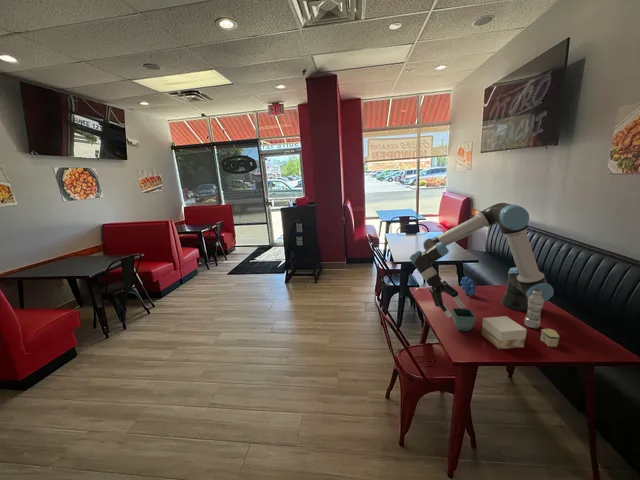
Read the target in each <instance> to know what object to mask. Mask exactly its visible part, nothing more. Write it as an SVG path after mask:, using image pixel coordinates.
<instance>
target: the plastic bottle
mask: <svg viewBox="0 0 640 480" xmlns="http://www.w3.org/2000/svg"><path fill="white" fill-rule="evenodd" d="M541 295H542V291H541V290H539V289H533V291H532V295H530V296H529V297H528V310H527V311H526V315H525V317H524V319H523V320H524V325H525V326H526V327H528V328H530V329H538V328H539V327H540V326H541V312H542V310H543V309H542V308H543V306H544V303H545V302H544V300H543V298H542V296H541Z"/></svg>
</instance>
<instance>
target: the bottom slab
mask: <svg viewBox="0 0 640 480" xmlns="http://www.w3.org/2000/svg"><path fill="white" fill-rule="evenodd" d="M480 333H481V335H482V336H483V337H484V338H485V339H486V340H488V342H490V343H491V344H492V345H493V346H494V347H496V348H497V349H498V350H501V349H502V350H505V349H515V348H517V349H519V348H525V344H526V343H525V342H526V338H525V339H515V340H503V341H500V340H499V339H497V338H496V337H495V336H494V335H492V334H491V333H490V332H489V331H487V330H486V329H485V328H484V327H482V326H481V332H480Z"/></svg>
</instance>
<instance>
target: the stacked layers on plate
mask: <svg viewBox="0 0 640 480" xmlns="http://www.w3.org/2000/svg"><path fill="white" fill-rule="evenodd" d="M558 333H559V332H557V331H556V330H555V329H552V328H543V329H541V332H540V334H541V335H539V336H540V341H541V342H543V343H544V344H545V345H546V344H547V345H546V346H548V347H552V348H554V347H555V348H557V347H558V345H559V341H560V335H559V334H558Z"/></svg>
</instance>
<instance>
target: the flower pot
mask: <svg viewBox="0 0 640 480" xmlns="http://www.w3.org/2000/svg"><path fill="white" fill-rule="evenodd" d="M451 310H452V311H451V313H452V315H453V316H452V320H453V323H454V325H455V327H456V329H457V330H458V331H462V332H463V331H464V332H465V331H466V332H469V331H470V330H472V328H473V327H474V325H475V321H476V316H475V314H474V313H473V311H472V310H471V309H470V308H462V309H460V307H459V308H457V307H452V308H451Z"/></svg>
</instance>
